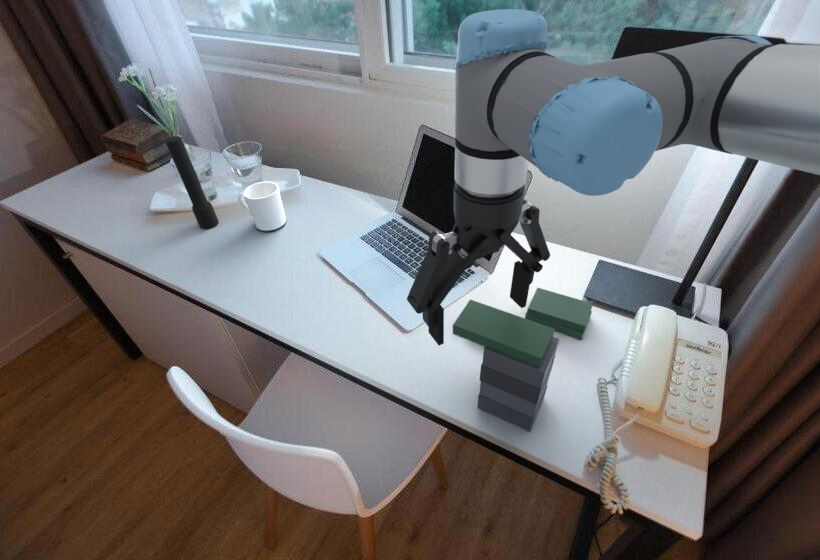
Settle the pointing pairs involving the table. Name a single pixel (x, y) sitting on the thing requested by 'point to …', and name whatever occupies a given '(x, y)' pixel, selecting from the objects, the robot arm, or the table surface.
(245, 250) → the table surface
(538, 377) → the grey books
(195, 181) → the flashlight
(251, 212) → the mug
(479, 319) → the green book
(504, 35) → the robot arm
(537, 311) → the green books
